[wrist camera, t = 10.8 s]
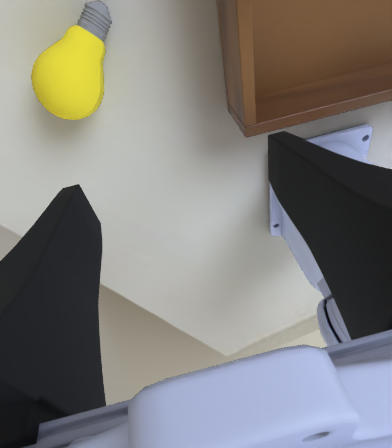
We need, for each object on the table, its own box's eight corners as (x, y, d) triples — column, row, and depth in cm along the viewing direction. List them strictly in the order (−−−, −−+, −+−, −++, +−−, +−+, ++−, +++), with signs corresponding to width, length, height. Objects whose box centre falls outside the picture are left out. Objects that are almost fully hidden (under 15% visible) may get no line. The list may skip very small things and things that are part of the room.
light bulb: (39, 100, 18) (8, 96, 15) (80, -4, 17) (56, -35, 13) (93, 130, 19) (76, 133, 15) (137, 33, 17) (129, 13, 14)
